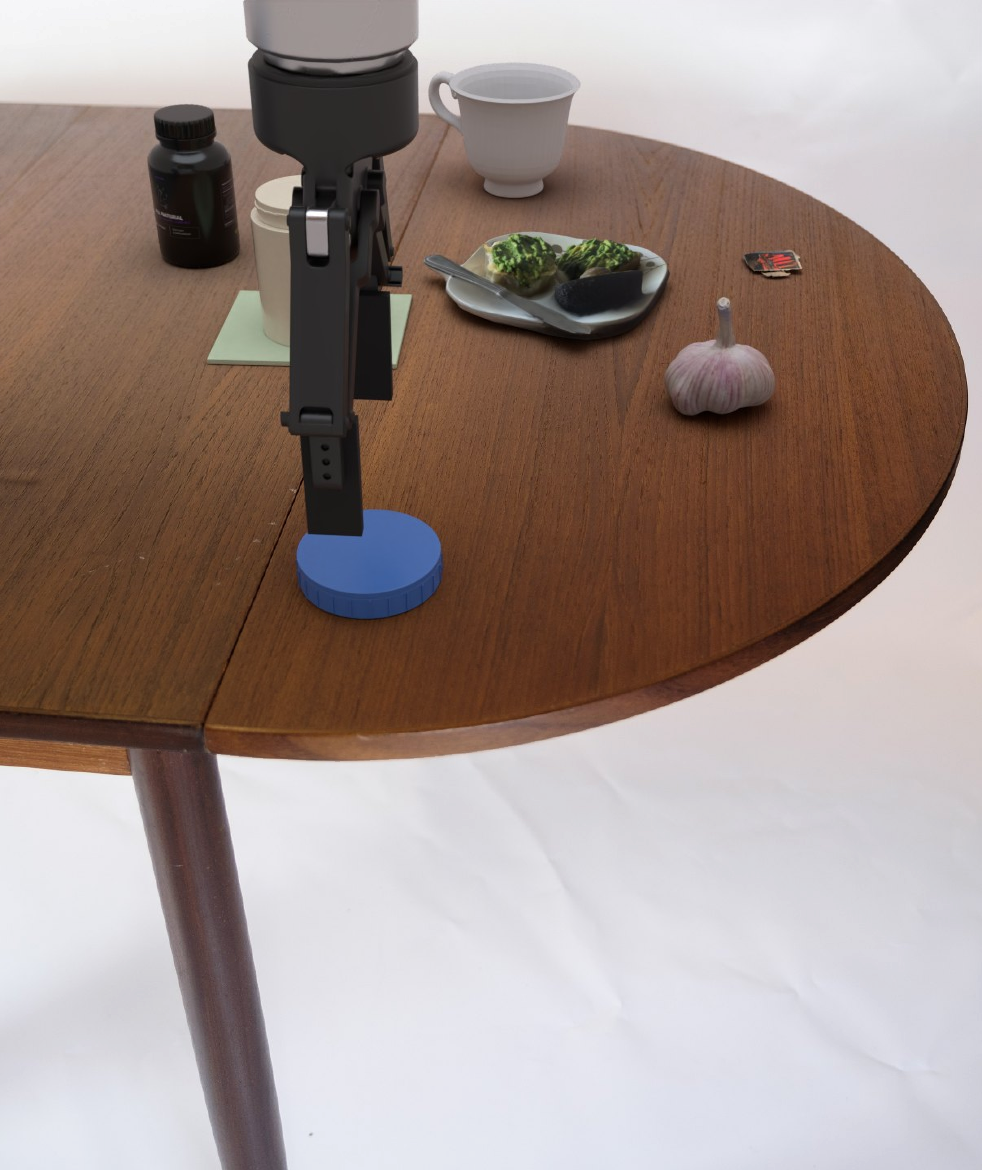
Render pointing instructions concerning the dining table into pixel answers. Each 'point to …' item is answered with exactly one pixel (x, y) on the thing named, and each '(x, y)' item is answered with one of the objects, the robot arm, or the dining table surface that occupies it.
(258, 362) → the mat
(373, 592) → the lid
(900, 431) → the dining table surface
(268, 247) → the jar
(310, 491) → the robot arm
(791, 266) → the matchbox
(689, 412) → the garlic bulb
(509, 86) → the teacup
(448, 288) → the salad plate
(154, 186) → the supplement bottle
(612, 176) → the dining table surface
